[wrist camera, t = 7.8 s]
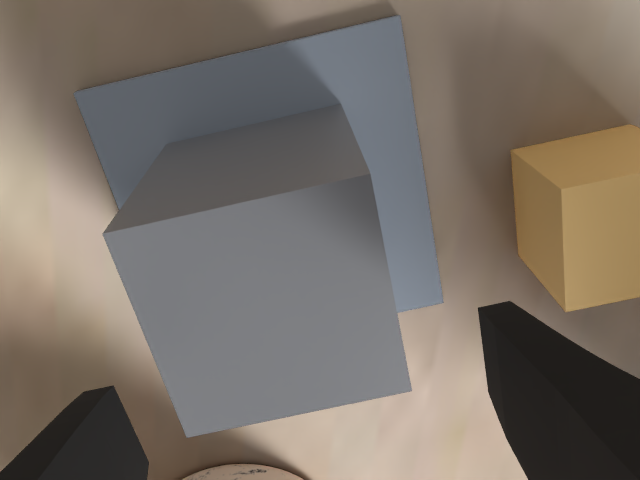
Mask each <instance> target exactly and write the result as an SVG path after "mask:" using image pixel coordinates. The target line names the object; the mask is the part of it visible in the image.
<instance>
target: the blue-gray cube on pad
mask: <svg viewBox="0 0 640 480" xmlns="http://www.w3.org/2000/svg"><path fill="white" fill-rule="evenodd" d="M103 236H104V239H105V241H106V244H107V246H108V249H109V251H110V253H111V256H112V258H113V261H114V263H115V265H116V268H117V270H118V273H119V275H120V278H121V280H122V282H123V285H124V287H125V290H126V292H127V295H128V297H129V299H130V302H131V304H132V307H133V309H134V311H135V314H136V316H137V319H138V321H139V324H140V326H141V328H142V331H143V333H144V336H145V338H146V341H147V343H148V345H149V348H150V350H151V353H152V355H153V358H154V360H155V362H156V365H157V367H158V370H159V372H160V374H161V377H162V379H163V382H164V384H165V387H166V389H167V391H168V394H169V396H170V399H171V401H172V404H173V406H174V408H175V411H176V413H177V416H178V418H179V420H180V423H181V425H182V428H183V430H184V433H185V435H186V437H187V438H189V437H194V436H198V435H203V434H208V433H213V432H218V431H222V430H227V429H232V428H237V427H242V426H246V425H251V424H256V423H261V422H266V421H270V420H275V419H280V418H285V417H290V416H294V415H299V414H304V413H309V412H314V411H318V410H323V409H328V408H333V407H338V406H342V405H347V404H352V403H357V402H362V401H366V400H371V399H376V398H381V397H386V396H390V395H395V394H400V393H405V392H410V391H412V388H411V383H410V378H409V373H408V367H407V362H406V357H405V352H404V346H403V341H402V336H401V331H400V325H399V320H398V315H397V310H396V304H395V299H394V294H393V289H392V284H391V278H390V273H389V268H388V263H387V257H386V252H385V247H384V242H383V236H382V231H381V226H380V221H379V215H378V210H377V205H376V200H375V194H374V189H373V184H372V179H371V174H370V171H369V169H368V166H367V164H366V162H365V159H364V157H363V154H362V152H361V150H360V147H359V145H358V143H357V140H356V138H355V135H354V133H353V131H352V128H351V126H350V124H349V121H348V119H347V116H346V114H345V112H344V109H343V107H342V105H341V104H337V105H333V106H328V107H324V108H320V109H315V110H311V111H307V112H302V113H298V114H294V115H289V116H285V117H281V118H276V119H272V120H268V121H263V122H259V123H255V124H250V125H246V126H242V127H237V128H233V129H229V130H224V131H220V132H216V133H211V134H207V135H203V136H198V137H194V138H190V139H185V140H181V141H177V142H172V143H168V144H166V145H165V147H164V148H163V149H162V151H161V152H160V154H159V155H158V156H157V158H156V159H155V161H154V162H153V163H152V165H151V166H150V168H149V169H148V171H147V172H146V173H145V175H144V176H143V178H142V179H141V180H140V182H139V183H138V185H137V186H136V187H135V189H134V190H133V192H132V193H131V194H130V196H129V197H128V199H127V200H126V202H125V203H124V204H123V206H122V207H121V209H120V210H119V211H118V213H117V214H116V216H115V217H114V218H113V220H112V221H111V223H110V224H109V225H108V227H107V228H106V230H105V231H104V233H103Z"/></svg>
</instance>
